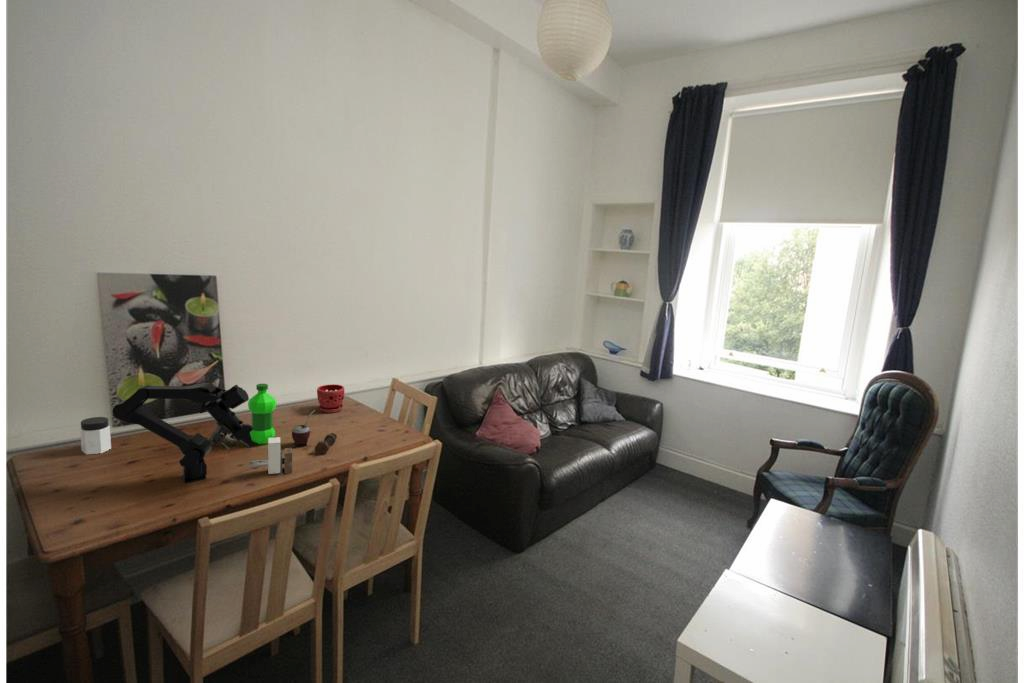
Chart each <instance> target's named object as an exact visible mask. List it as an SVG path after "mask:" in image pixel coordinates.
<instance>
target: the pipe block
mask: <svg viewBox="0 0 1024 683" xmlns="http://www.w3.org/2000/svg"><path fill="white" fill-rule="evenodd" d="M283 454H284V457H283V458H285V464H283V465H284V467H283V468H284V470H283V468H282V471H280V473H276V475H277V474H278V475H283V473H284V474H286V473H288V474H293V449H292V447H287V448H284V453H283ZM283 471H284V472H283Z"/></svg>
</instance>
